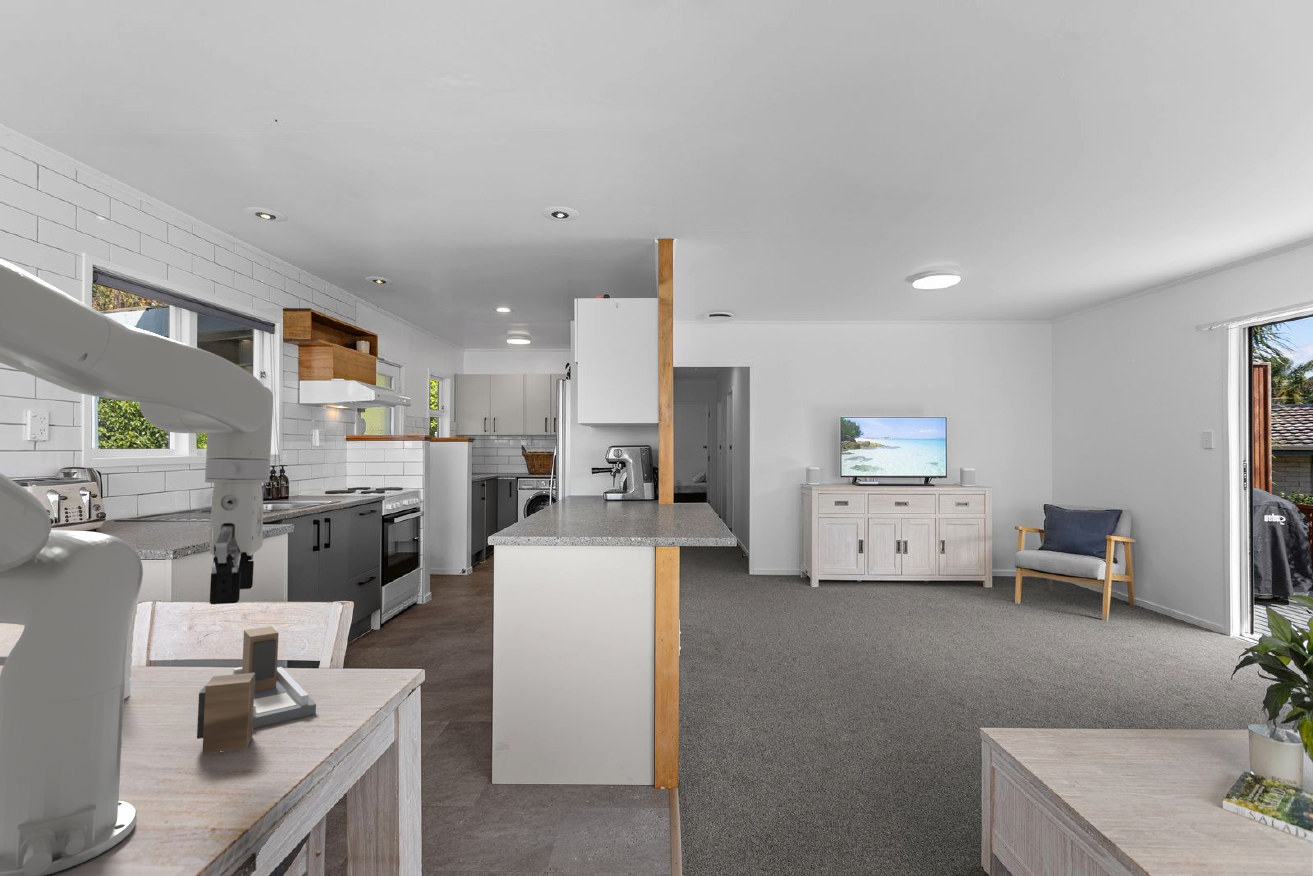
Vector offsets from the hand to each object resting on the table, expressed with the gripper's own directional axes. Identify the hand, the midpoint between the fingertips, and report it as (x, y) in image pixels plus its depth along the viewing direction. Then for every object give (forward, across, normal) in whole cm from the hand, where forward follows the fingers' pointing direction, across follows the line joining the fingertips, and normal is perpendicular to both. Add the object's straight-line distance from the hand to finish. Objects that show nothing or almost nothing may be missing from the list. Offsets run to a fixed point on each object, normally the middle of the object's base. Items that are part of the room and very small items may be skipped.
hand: (232, 595), depth 88 cm
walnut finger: (+20, 0, 0) cm, 20 cm away
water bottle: (+20, +25, +22) cm, 39 cm away
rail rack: (+20, +14, -3) cm, 25 cm away
